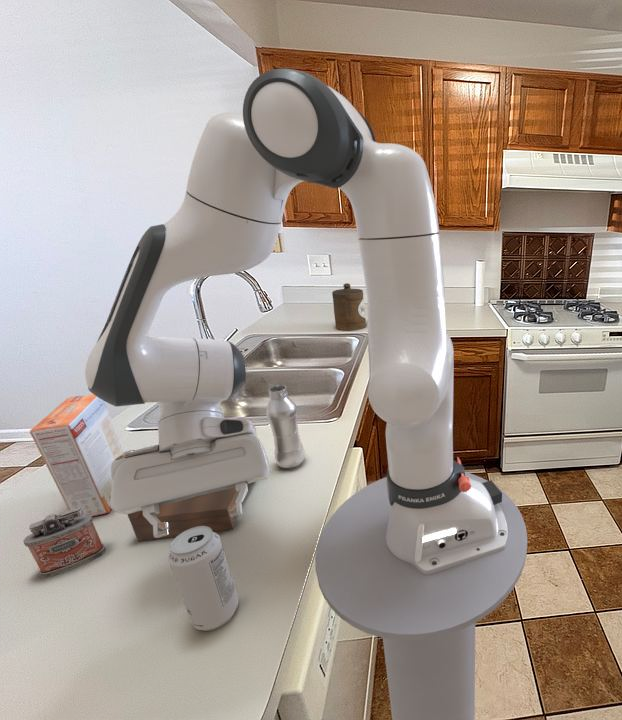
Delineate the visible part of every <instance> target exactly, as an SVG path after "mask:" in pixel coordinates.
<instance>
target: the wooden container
mask: <svg viewBox="0 0 622 720" xmlns="http://www.w3.org/2000/svg"><path fill="white" fill-rule="evenodd" d="M342 286H343V288H339V289H336V290H335V289H334V290H333V291H332V293H331V295H332V303H333V314H334V322H335V328H336V329H337V330H340V331H358V330H361V329H364V328H366V327H367V321H366V309H365V300H364V290H362V289H360V288H351V284H350V283H346V282H345V283H344V284H343V285H342Z"/></svg>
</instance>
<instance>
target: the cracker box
mask: <svg viewBox="0 0 622 720" xmlns="http://www.w3.org/2000/svg"><path fill="white" fill-rule="evenodd" d="M29 434H30V436H31V438H32V439H33V441H34V444H35V445H36V447H37V449H38V451H39V453H40V455H41V457H42V459H43V462H44V463H45V465H46V468H47V469H48V472H49V473H50V475H51V478H52V479H53V481H54V483H55V485H56V487H57V490H58V491H59V494H60V495H61V497H62V499H63V501H64V503H65V505H66V507H67V510H68V511H69V510H72V509H75V508H78V507H79V508H82V511H83V515H91V516H92V518H93V517H97V516H102V515H105V514H110V512H111V511H112V509H111V507H110V499H111V490H112V484H113V479H112V477H111V464H112V462H113V461H114V460H115V459H116V458H117V457H119V456H120V455H123V453H124V452H125V450H124V448H123V445H122V443H121V440H120V437H119V435H118V433H117V430H116V428H115V425H114V423H113V420H112V418H111V414H110V413H109V410H108V407H107V405H106V402H105V401H103V400H102V399H100V398H98V397H97V396H95V395H94V394H93V393H91V394H87V395H86V394H85V395H77V396H70V397H67V398H66V399H65V400H63V401H62V402H61V403H60V404H58V406H57V407H56V408H54V409H53V410H52V411H51V412H50V413H49V414H48V415H46V416H45V417H44V418H43V419H42V420H41V421H39V422H38V423H37V424H36V425H34V427H32V428H31V429H30V430H29ZM121 459H124V457H122V458H121ZM83 515H82V516H83Z"/></svg>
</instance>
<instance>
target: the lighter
mask: <svg viewBox="0 0 622 720" xmlns="http://www.w3.org/2000/svg"><path fill="white" fill-rule="evenodd" d="M82 515H83V511H82V508H79V507H78V508H75V509H72V510H69V509H68V510H66V511H63V512H61V513H59V514H56V513H51V514H49V515H47V516H45V517H44V519H42V520H39V521H36V522H33V523H31V524H29V525H28V529H29V530H30V534H28V535H27V536H25V538H24V539H23V545H24V546H25V547H26V548H28V550H29V551H30V552H29V553H31V556H32V558H33V559H34V561H35V562H36V565H37V566H38V568H39V574H40V575H41V577H42V578H50V577H53V576H56V575H60V574H63V573H65V572H68V571H71V570H73V569H76V568H78V567H80V566H83V565H85V564H86V563H87V564H88V563H89V562H91V561H94V560H95V559H97V558H100V557H101V556H103V554H105V552H106V551H107V548H106V546H105V544H104V543H102V540H101V538H100V536H99V534H98V532H97V529H96V526H95V525H94V519H93V517H92V516H91V515H83V516H82Z"/></svg>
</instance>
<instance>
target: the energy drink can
mask: <svg viewBox="0 0 622 720" xmlns="http://www.w3.org/2000/svg"><path fill="white" fill-rule="evenodd" d="M169 549H170V551H169V554H168V558H167V562H168V564H169V566H170V569H171V571H172V574H173V577H174V579H175V582H176V585H177V588H178V591H179V593H180V595H181V598H182V602H183V604H184V606H185V609H186V612H187V614H188V617H189V620H190V622H191V624H192V627H193V628H194V629H196V630H199V631H205V632H210V631H214V630H217V629H219V628H221V627H222V626H224V625H225V624H227V623H228V622H230V620H231V618H232V617H233V616H234V614H235V613H236V610H237V609H238V607H239V596H238V593H237V590H236V585H235V583H234V580H233V576H232V573H231V569H230V566H229V563H228V560H227V557H226V553H225V549H224V546H223V543H222V540H221V536H220V535H219V534H218V533H217V532H213V531H212V529H211V528H210V527H207V526H197V527H193V528H191V529H188V530H186V531H184V532H182V533H181V534H179V535H178V536H177V537H174V539H173V540H172V541H171V543H170V545H169Z"/></svg>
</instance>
